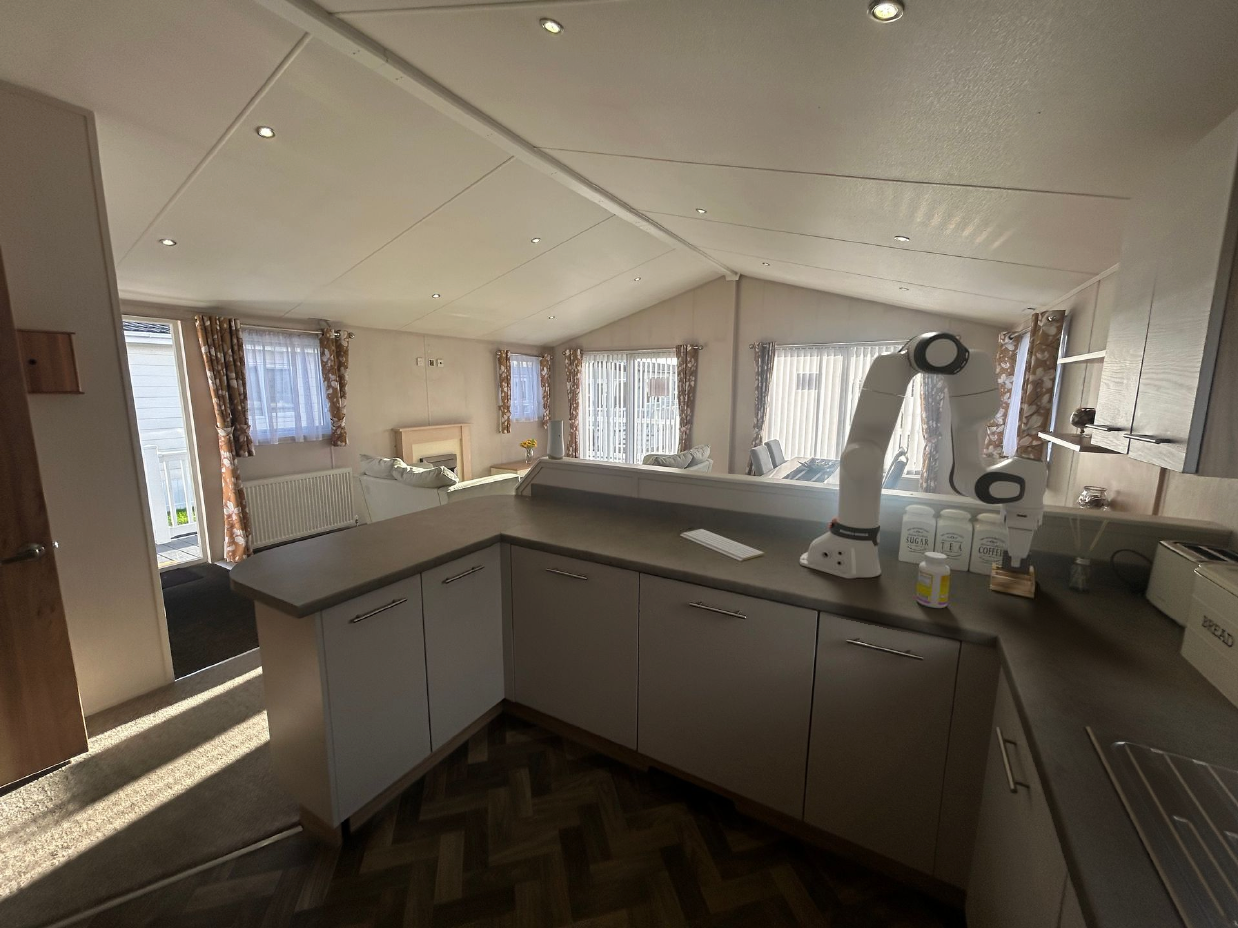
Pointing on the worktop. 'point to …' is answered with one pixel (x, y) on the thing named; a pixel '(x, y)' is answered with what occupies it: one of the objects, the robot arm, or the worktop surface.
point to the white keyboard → (722, 544)
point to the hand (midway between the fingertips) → (1015, 563)
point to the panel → (1024, 562)
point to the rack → (1013, 581)
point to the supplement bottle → (933, 581)
